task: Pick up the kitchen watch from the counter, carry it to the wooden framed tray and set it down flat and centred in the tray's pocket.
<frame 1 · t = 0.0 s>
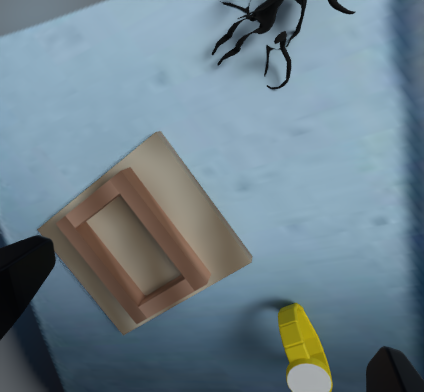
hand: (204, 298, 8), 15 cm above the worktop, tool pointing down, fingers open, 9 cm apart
creature: (263, 27, 20), on the worktop
wooden framed tray: (142, 240, 26), on the worktop
watch: (301, 321, 25), on the worktop
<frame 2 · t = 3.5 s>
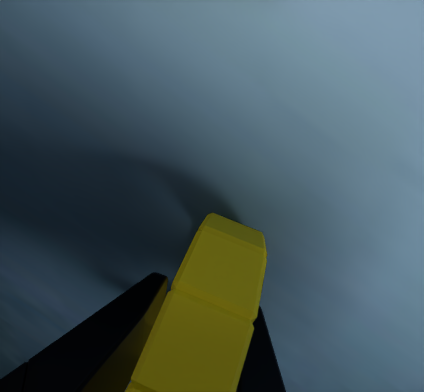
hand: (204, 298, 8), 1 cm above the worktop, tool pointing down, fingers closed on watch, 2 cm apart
watch: (216, 262, 9), on the worktop, touching gripper
when the fingers open (3 cm above the worktop, at t = 6.9 s): watch stays where it is, resting on wooden framed tray.
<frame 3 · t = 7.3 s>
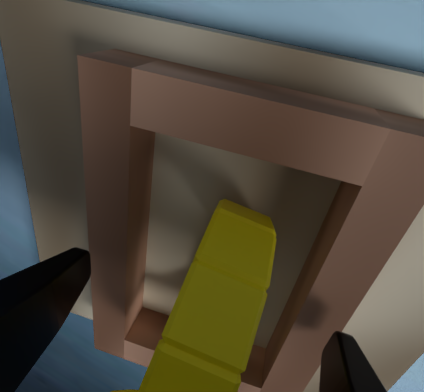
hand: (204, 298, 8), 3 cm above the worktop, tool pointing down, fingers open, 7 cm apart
wooden framed tray: (227, 232, 11), on the worktop
watch: (224, 248, 10), point 1 cm above the worktop, touching wooden framed tray
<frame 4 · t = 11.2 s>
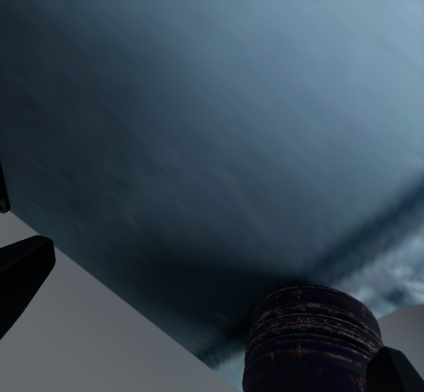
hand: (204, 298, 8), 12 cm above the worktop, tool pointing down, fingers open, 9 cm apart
dark purple barrel: (312, 328, 25), on the worktop
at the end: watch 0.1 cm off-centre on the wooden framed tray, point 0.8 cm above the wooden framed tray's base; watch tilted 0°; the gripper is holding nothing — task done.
